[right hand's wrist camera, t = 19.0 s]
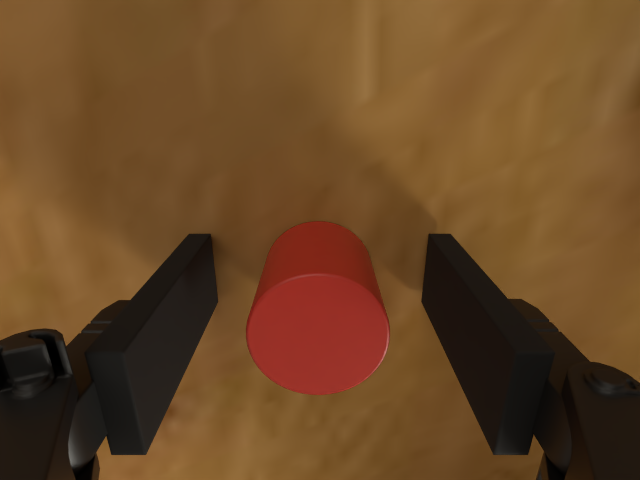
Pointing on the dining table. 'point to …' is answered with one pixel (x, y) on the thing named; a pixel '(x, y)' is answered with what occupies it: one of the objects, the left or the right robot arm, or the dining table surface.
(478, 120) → the dining table surface
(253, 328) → the canister
